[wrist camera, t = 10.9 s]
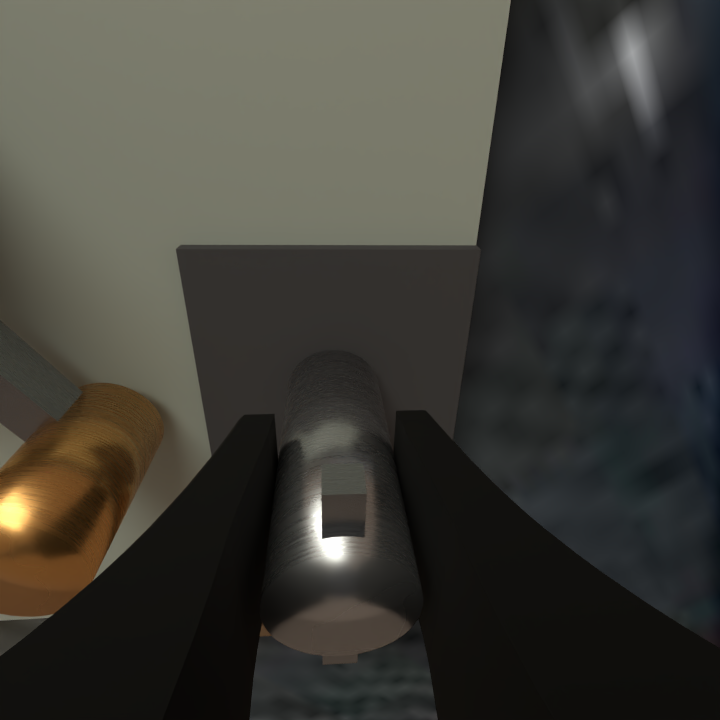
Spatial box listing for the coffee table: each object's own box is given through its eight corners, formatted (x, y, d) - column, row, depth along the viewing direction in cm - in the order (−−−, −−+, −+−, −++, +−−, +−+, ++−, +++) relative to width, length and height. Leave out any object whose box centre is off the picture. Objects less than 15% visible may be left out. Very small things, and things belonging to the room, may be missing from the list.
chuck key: (290, 450, 13) (268, 686, 8) (283, 320, 11) (249, 515, 6) (374, 448, 13) (411, 677, 8) (382, 320, 11) (438, 508, 6)
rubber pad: (219, 474, 14) (216, 483, 13) (180, 244, 10) (175, 249, 10) (444, 466, 14) (447, 475, 14) (475, 245, 11) (481, 249, 11)
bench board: (-115, 606, 17) (-135, 627, 16) (-884, -396, 6) (-1041, -462, 5) (422, 577, 18) (426, 596, 17) (533, -267, 8) (554, -307, 7)
